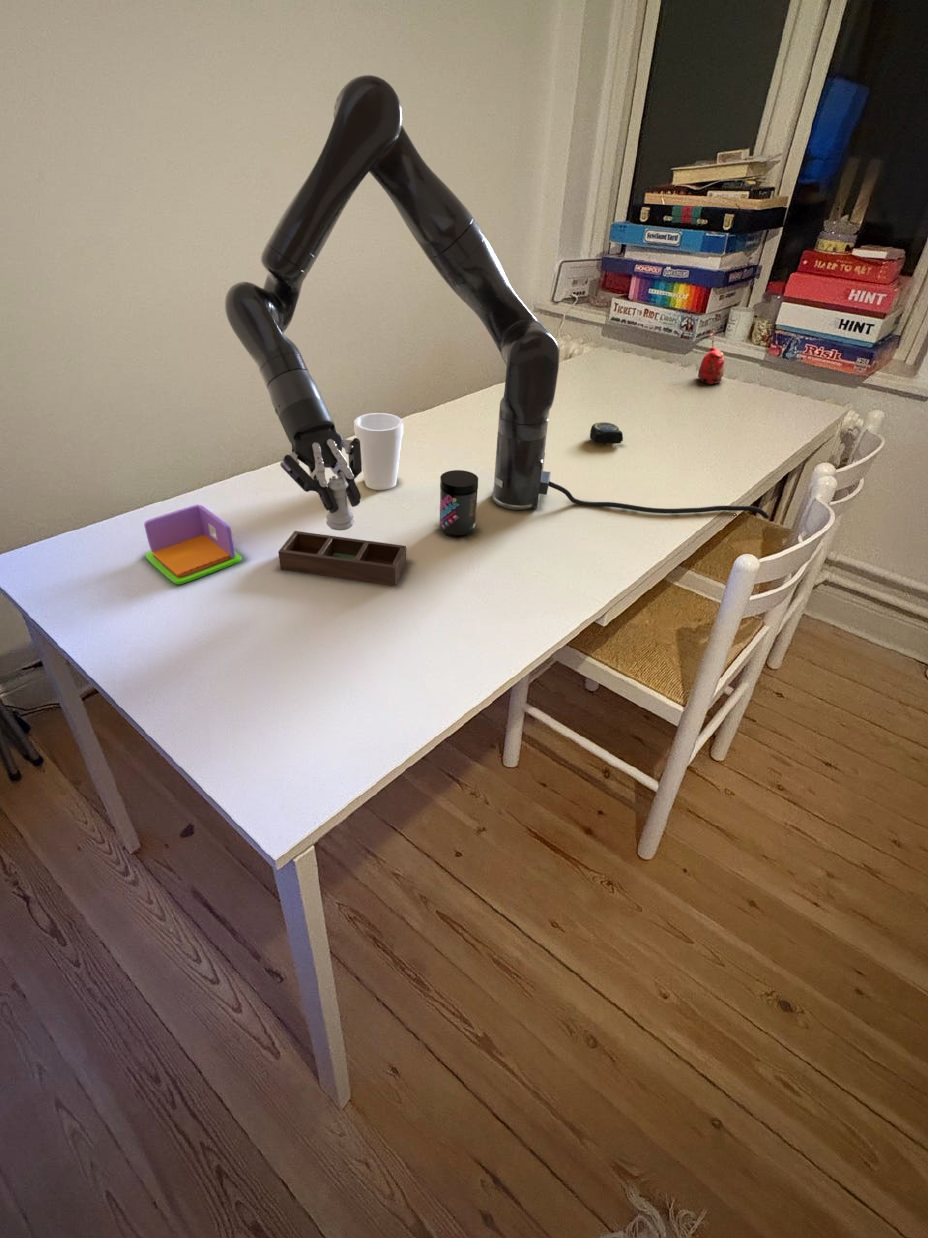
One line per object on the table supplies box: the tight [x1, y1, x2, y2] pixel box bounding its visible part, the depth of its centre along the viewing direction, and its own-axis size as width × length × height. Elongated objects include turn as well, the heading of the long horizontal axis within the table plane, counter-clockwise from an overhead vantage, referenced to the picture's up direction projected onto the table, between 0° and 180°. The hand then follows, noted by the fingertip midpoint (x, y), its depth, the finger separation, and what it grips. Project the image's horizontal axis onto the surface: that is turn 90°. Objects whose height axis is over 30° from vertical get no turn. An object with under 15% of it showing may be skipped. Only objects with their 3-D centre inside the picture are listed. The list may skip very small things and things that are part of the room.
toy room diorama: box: [143, 504, 242, 586], centre depth 114 cm, size 12×12×7 cm
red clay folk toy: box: [697, 326, 725, 385], centre depth 201 cm, size 8×7×15 cm
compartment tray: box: [277, 530, 407, 587], centre depth 115 cm, size 7×20×4 cm, turn 79°
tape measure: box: [589, 421, 624, 446], centre depth 164 cm, size 7×7×4 cm
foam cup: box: [353, 412, 404, 491], centre depth 138 cm, size 10×9×13 cm
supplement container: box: [438, 469, 479, 539], centre depth 125 cm, size 7×7×10 cm
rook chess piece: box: [325, 475, 355, 532], centre depth 109 cm, size 4×4×8 cm
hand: (345, 507), depth 108 cm, fingers closed on rook chess piece, 3 cm apart
